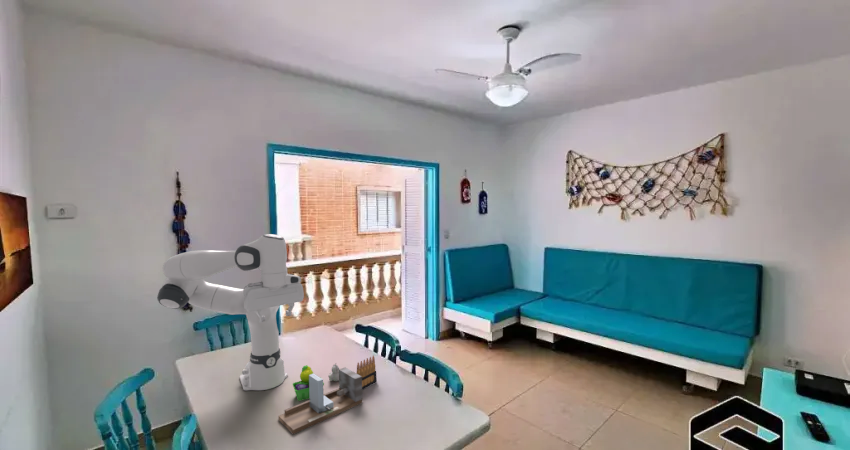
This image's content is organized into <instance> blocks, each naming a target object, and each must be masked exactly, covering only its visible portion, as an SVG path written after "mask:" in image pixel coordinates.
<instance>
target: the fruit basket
mask: <svg viewBox="0 0 850 450" xmlns="http://www.w3.org/2000/svg"><path fill="white" fill-rule="evenodd" d="M301 368H302V369H301V372H300V375H299V378H300V380H298V381H295V382H293V383H292V387H293V390H294V392H295V397H296V399H297V401H298V402H300V401H304V400H308V399H309V400H310V398H309V375H311V374H315V373H314V371H313V370H312V368H311V366H309V365H308V364H307V365H304V366H302V367H301ZM319 377H320V378H322V377H321V376H319ZM324 386H325V383H324V382H323V387H324Z"/></svg>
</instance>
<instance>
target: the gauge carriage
mask: <svg viewBox="0 0 850 450" xmlns="http://www.w3.org/2000/svg"><path fill="white" fill-rule="evenodd" d="M320 377H321V376H318V375H317V374H315V373H314V374H311V375H309V400H310V407H311V408H312V409H314V410H315V411H316V412H317V413H321V412H324V411H326V410H328V411H330V409H331V408H333V407H334V405H333V401H331V400H330V399H328V398H327V397H326V396H323V394H324V386H323V383H324V379H323V378H322V377H321V378H320Z"/></svg>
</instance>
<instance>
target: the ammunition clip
mask: <svg viewBox="0 0 850 450" xmlns="http://www.w3.org/2000/svg"><path fill="white" fill-rule="evenodd" d="M375 360H376V359H375V356H374V355H372V356H370V357H369V358H368V357H367V358H366V359H363V360H361V361H360V363H359V361H358V362H357V364H356V372H355V373H356V374H358V375H360V376H362V391H363V390H365V389H367V388H369V387H370V386H373V385H374V384H376V383H377V382H378V381H377V370H376V361H375Z"/></svg>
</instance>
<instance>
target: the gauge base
mask: <svg viewBox="0 0 850 450" xmlns="http://www.w3.org/2000/svg"><path fill="white" fill-rule="evenodd" d="M356 373H357V372H354V370H351V369H349V368H347V367H346V366H344V367H342V368H339V380H338V388H336V389H334V390H330V391H329V392H326V393H323V396H326V397H327V398H328V399H330V400H331V401H333V405H334V407H333V408H331V409H330V411H328V410H326V411H324V412H321V413H317V412H316V411H315V410H314V409H312V408H311V407H310V399H309V400H308V399H307V400H306V401H304V402H301V403H299V404H296V405H294V406H291V407H288V408H286V409H284V412H283V413H282V414H280V415H278V421H279V422H280V423H281V424H282V425H283V426H284V427H285V428H286V429H287V430H288V431H289V432H290V433H291V434H293V435H294V434H297V433H299V432H301V431H304V430H305V429H308V428H310V427H312V426H315V425H317V424H319V423H321V422H323V421H325V420H327V419H330V418H332V417H334V416H336V415H338V414H340V413H344V412H346V411H347V410H348V411H349V410H350V409H352V408H355V407H357V406H358V405H361V404H363V390H362V376H360V375H358V374H356Z"/></svg>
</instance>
